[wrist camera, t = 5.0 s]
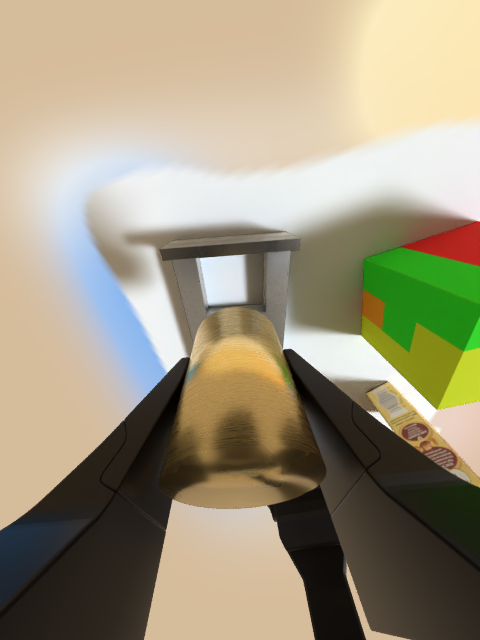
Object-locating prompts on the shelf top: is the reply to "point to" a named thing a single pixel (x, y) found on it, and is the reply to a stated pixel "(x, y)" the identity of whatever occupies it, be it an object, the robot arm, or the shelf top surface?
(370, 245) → the shelf top surface
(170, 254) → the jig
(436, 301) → the puzzle toy
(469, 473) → the candy box
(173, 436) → the gold metal cylinder
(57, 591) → the robot arm
